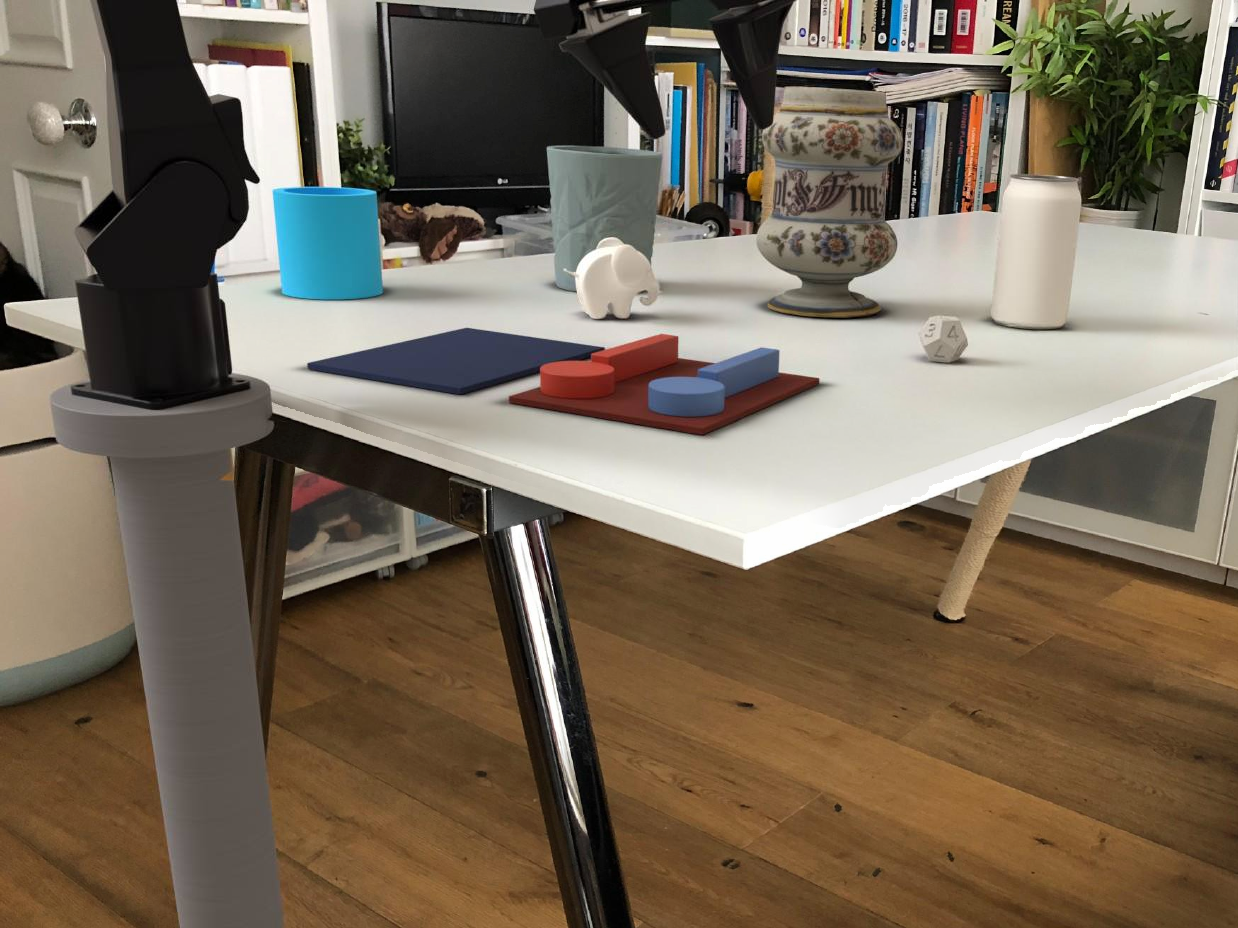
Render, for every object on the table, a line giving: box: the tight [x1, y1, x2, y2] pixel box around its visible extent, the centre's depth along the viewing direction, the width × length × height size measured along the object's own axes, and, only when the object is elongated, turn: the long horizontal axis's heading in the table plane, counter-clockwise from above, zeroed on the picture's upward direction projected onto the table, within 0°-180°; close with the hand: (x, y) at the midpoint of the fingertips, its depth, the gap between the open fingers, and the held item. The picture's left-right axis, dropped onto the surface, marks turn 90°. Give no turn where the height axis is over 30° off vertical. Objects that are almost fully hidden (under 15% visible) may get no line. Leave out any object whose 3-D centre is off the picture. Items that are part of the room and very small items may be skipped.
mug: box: [271, 186, 384, 300], centre depth 111 cm, size 12×8×8 cm
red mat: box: [508, 357, 820, 436], centre depth 81 cm, size 16×13×1 cm
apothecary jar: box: [755, 85, 904, 319], centre depth 111 cm, size 12×12×18 cm
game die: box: [918, 315, 969, 364], centre depth 95 cm, size 4×4×3 cm
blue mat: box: [306, 327, 606, 395], centre depth 87 cm, size 16×12×1 cm
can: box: [990, 173, 1082, 330], centre depth 110 cm, size 6×6×12 cm
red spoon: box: [539, 333, 679, 399], centre depth 82 cm, size 13×4×2 cm, turn 155°
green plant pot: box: [546, 145, 663, 292], centre depth 118 cm, size 10×10×12 cm
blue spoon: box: [648, 346, 781, 417], centre depth 80 cm, size 13×4×2 cm, turn 155°
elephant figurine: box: [564, 237, 664, 320], centre depth 105 cm, size 7×8×6 cm
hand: (710, 132), depth 81 cm, fingers open, 9 cm apart
